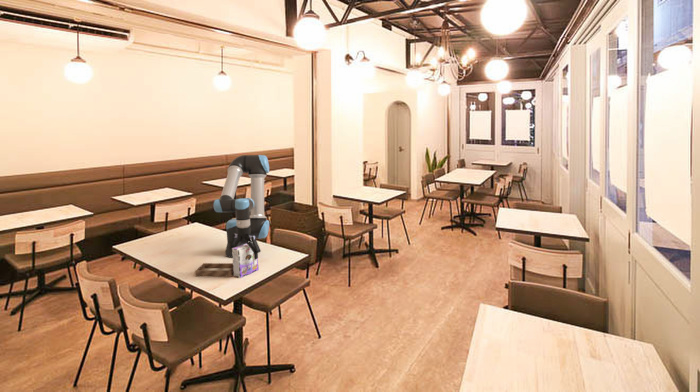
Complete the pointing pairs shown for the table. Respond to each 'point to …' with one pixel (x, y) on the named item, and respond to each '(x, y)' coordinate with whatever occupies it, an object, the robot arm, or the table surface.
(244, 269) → the candy box
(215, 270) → the wooden picture frame
